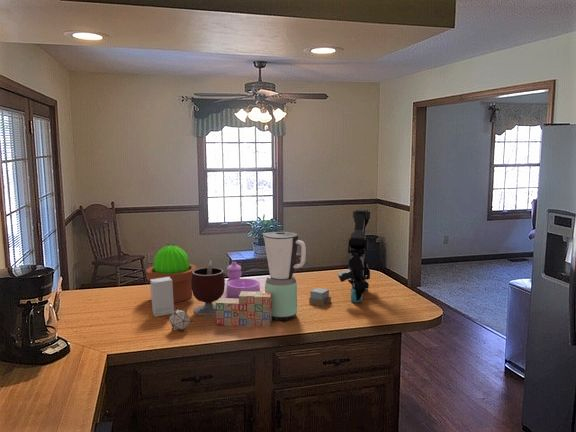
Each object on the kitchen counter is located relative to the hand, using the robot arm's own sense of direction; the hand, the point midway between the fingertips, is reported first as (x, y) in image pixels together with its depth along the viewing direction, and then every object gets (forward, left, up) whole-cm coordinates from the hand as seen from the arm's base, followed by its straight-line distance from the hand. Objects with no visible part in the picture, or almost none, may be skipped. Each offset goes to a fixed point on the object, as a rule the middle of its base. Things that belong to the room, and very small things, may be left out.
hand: (356, 298), depth 220 cm
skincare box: (+58, -61, -2) cm, 84 cm away
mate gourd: (+44, -48, -2) cm, 65 cm away
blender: (+34, -17, -2) cm, 38 cm away
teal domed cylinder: (0, 0, -1) cm, 1 cm away
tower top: (+10, -13, +1) cm, 17 cm away
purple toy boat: (+18, -52, -2) cm, 55 cm away
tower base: (+10, -13, -2) cm, 17 cm away
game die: (+67, -42, -2) cm, 79 cm away
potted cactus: (+40, -74, -2) cm, 84 cm away
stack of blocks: (+48, -26, -2) cm, 55 cm away
